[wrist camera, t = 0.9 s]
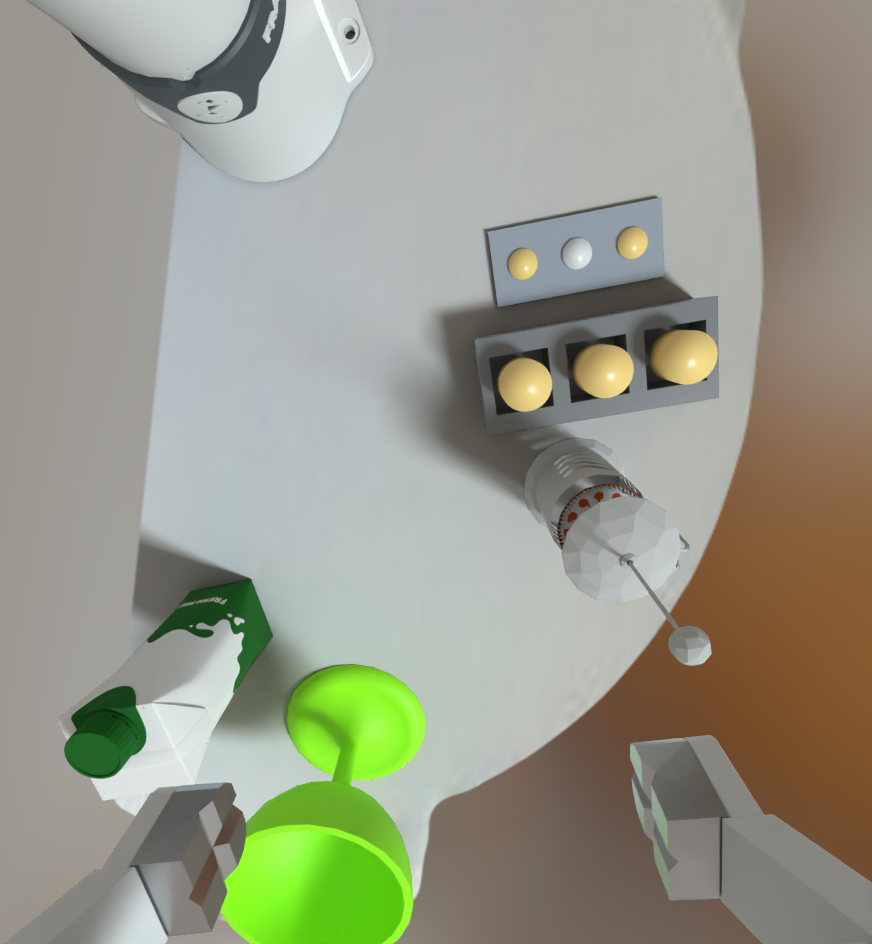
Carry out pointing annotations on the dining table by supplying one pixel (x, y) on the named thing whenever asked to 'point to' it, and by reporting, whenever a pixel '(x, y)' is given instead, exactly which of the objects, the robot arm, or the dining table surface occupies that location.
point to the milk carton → (167, 695)
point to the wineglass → (332, 821)
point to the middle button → (602, 370)
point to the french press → (608, 531)
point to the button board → (556, 345)
